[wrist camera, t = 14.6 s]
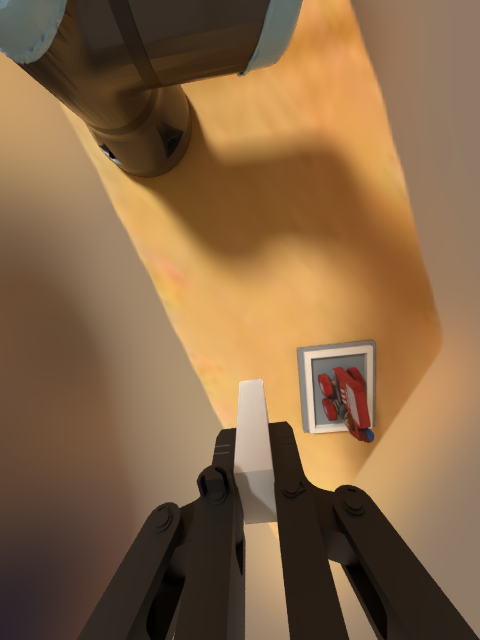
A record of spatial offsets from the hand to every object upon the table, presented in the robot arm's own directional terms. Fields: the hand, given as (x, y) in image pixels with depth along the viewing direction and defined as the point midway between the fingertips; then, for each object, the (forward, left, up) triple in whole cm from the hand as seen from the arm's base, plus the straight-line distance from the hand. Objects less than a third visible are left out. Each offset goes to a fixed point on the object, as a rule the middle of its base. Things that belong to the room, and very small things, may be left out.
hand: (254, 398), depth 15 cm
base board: (+17, +15, -27) cm, 35 cm away
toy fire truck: (+17, +15, -26) cm, 35 cm away
